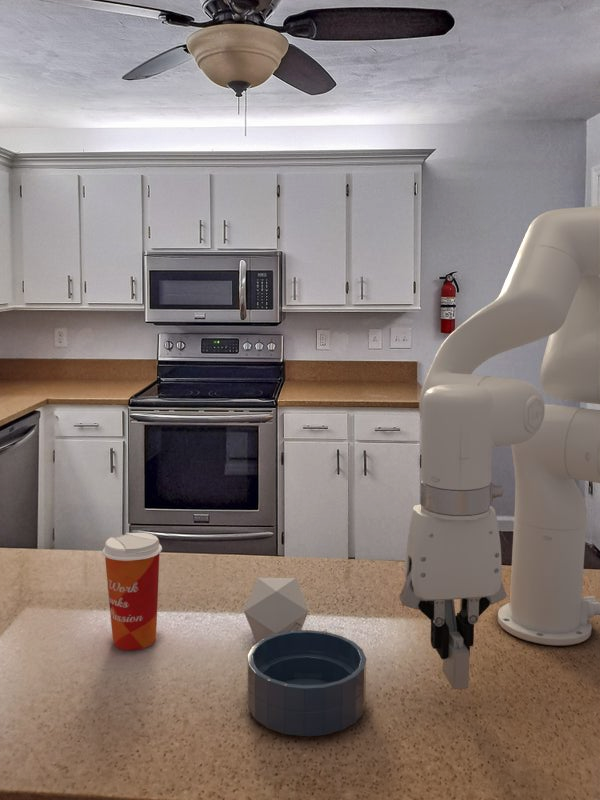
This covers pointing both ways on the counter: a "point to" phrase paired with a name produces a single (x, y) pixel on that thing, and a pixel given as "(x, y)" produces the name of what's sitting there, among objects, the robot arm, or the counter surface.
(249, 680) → the bowl
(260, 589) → the grey polyhedron
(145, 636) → the paper cup
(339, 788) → the counter surface
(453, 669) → the lighter
